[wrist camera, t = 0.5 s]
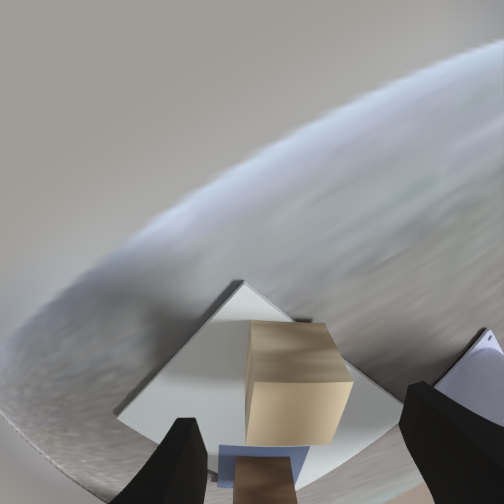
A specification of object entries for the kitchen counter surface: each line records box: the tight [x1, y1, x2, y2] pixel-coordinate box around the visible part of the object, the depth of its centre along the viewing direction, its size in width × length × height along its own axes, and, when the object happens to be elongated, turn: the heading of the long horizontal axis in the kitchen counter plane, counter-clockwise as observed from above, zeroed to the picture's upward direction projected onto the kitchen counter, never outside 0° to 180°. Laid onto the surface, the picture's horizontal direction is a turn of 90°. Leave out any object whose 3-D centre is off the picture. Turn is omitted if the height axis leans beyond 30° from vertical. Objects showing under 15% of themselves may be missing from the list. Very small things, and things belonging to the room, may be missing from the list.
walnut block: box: [233, 456, 297, 504], centre depth 19 cm, size 5×5×6 cm
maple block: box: [244, 320, 354, 446], centre depth 16 cm, size 5×5×6 cm
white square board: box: [117, 281, 404, 491], centre depth 21 cm, size 19×18×1 cm
